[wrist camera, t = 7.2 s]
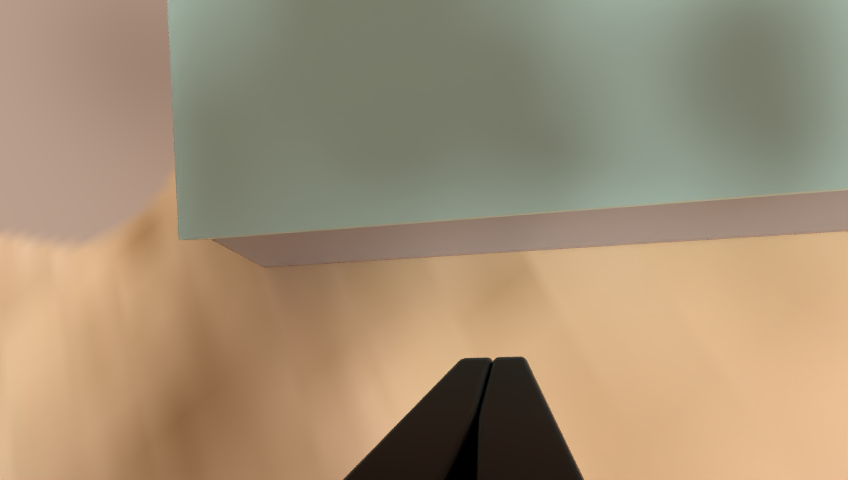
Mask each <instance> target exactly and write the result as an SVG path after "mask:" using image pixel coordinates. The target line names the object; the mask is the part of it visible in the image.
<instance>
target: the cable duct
mask: <svg viewBox="0 0 848 480" xmlns="http://www.w3.org/2000/svg"><path fill="white" fill-rule="evenodd" d="M837 231H848V190H843V191H830V192H817V193H804V194H791V195H778V196H765V197H752V198H739V199H726V200H713V201H700V202H687V203H674V204H661V205H648V206H635V207H622V208H609V209H596V210H583V211H570V212H557V213H544V214H531V215H518V216H505V217H492V218H479V219H466V220H453V221H440V222H427V223H414V224H401V225H388V226H375V227H362V228H349V229H336V230H323V231H310V232H297V233H284V234H270V235H257V236H244V237H231V238H218V239H211V240H213V241H215V242H217V243H219V244H221V245H223V246H225V247H226V248H228V249H230V250H232V251H234V252H236V253H238V254H240V255H242V256H244V257H246V258H247V259H249V260H251V261H253V262H255V263H257V264H259V265H261V266H263V267H275V266H291V265H307V264H323V263H339V262H355V261H371V260H387V259H403V258H419V257H435V256H451V255H467V254H483V253H499V252H516V251H532V250H548V249H564V248H580V247H596V246H612V245H628V244H644V243H660V242H676V241H692V240H708V239H724V238H740V237H756V236H772V235H788V234H805V233H821V232H837Z"/></svg>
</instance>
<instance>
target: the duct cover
mask: <svg viewBox="0 0 848 480" xmlns="http://www.w3.org/2000/svg"><path fill="white" fill-rule="evenodd" d="M167 6H168V7H167V8H168V28H169V49H170V70H171V90H172V110H173V132H174V152H175V173H176V194H177V214H178V235H179V240H205V239H218V238H231V237H244V236H257V235H270V234H284V233H297V232H310V231H323V230H336V229H349V228H362V227H375V226H388V225H401V224H414V223H427V222H440V221H453V220H466V219H479V218H492V217H505V216H518V215H531V214H544V213H557V212H570V211H583V210H596V209H609V208H622V207H635V206H648V205H661V204H674V203H687V202H700V201H713V200H726V199H739V198H752V197H765V196H778V195H791V194H804V193H817V192H830V191H843V190H848V0H167Z"/></svg>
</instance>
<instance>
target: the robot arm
mask: <svg viewBox="0 0 848 480" xmlns="http://www.w3.org/2000/svg"><path fill="white" fill-rule="evenodd" d="M343 480H584V479H583V477H582V474H581V472H580V470H579V468H578V466H577V464H576V462H575V460H574V458H573V456H572V454H571V452H570V449H569V447H568V445H567V443H566V441H565V439H564V437H563V435H562V433H561V431H560V429H559V427H558V425H557V422H556V420H555V418H554V416H553V414H552V412H551V410H550V408H549V406H548V404H547V402H546V400H545V397H544V395H543V393H542V391H541V389H540V387H539V385H538V383H537V381H536V379H535V377H534V375H533V373H532V370H531V368H530V366H529V364H528V362H527V360H526V359H525V358H523V357H498V358H496V359H494V361H492V359H490V358H464V359H461V360H460V361H459V362H458V363H457V364H456V365H455V366H454V367H453V368H452V369H451V370H450V371H449V372H448V373H447V374H446V375H445V376H444V377H443V378H442V379H441V380H440V381H439V382H438V383H437V384H436V385H435V386H434V387H433V388H432V389H431V390H430V391H429V392H428V393H427V394H426V395H425V396H424V397H423V398H422V400H421V401H420V402H419V403H418V404H417V405H416V406H415V407H414V408H413V409H412V410H411V411H410V412H409V413H408V414H407V415H406V416H405V417H404V418H403V419H402V420H401V421H400V422H399V423H398V424H397V425H396V426H395V427H394V428H393V429H392V430H391V431H390V432H389V433H388V434H387V435H386V436H385V437H384V438H383V439H382V440H381V441H380V442H379V443H378V445H377V446H376V447H375V448H374V449H373V450H372V451H371V452H370V453H369V454H368V455H367V456H366V457H365V458H364V459H363V460H362V461H361V462H360V463H359V464H358V465H357V466H356V467H355V468H354V469H353V470H352V471H351V472H350V473H349V474H348V475H347V476H346V477H345V478H344V479H343Z"/></svg>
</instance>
